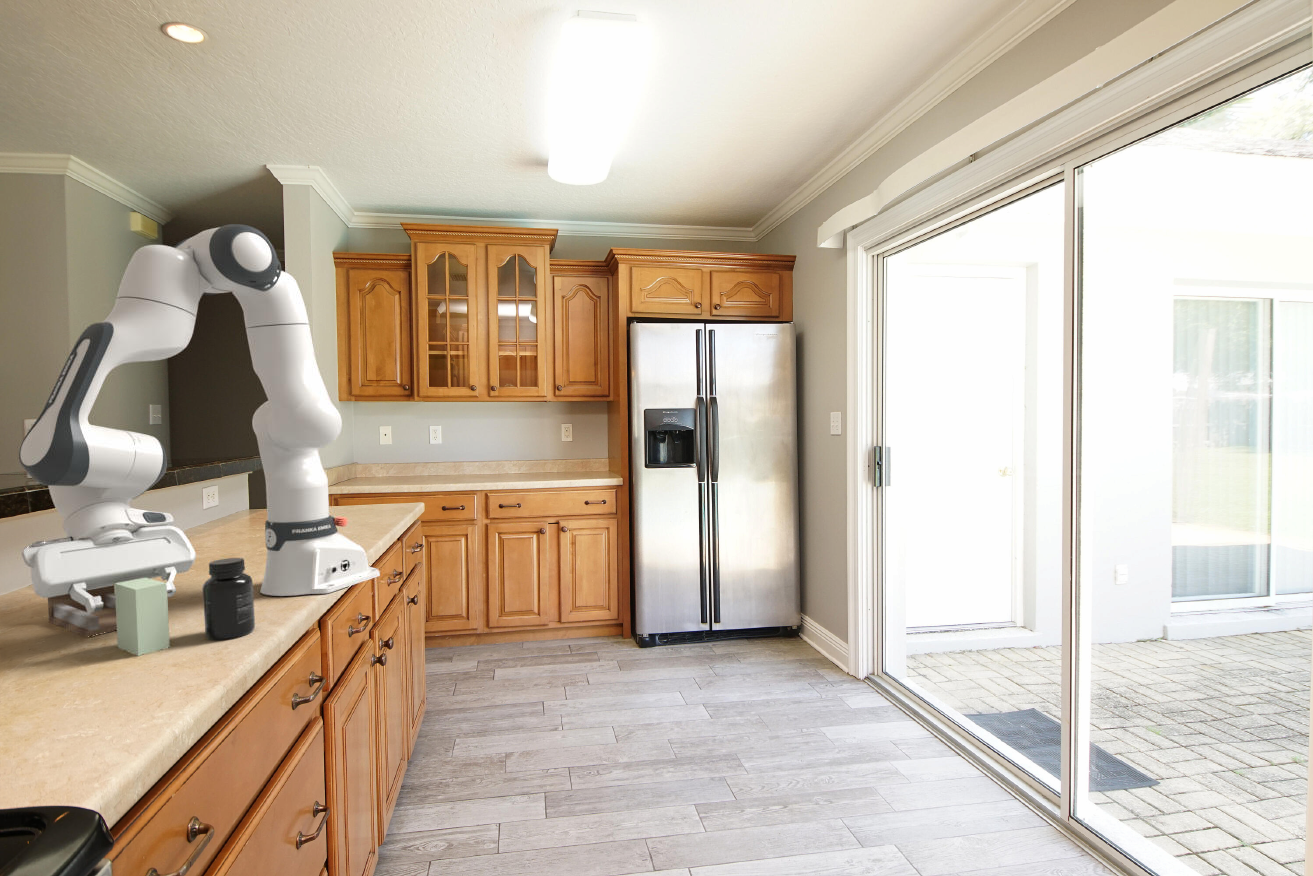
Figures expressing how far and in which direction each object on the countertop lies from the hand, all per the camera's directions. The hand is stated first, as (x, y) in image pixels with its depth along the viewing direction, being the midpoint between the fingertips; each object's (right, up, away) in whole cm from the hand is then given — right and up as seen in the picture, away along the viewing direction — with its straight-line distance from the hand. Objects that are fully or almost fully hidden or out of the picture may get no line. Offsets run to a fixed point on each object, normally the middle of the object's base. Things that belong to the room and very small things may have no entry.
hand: (134, 602), depth 101 cm
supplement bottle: (+11, -7, +6) cm, 14 cm away
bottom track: (-15, -6, +12) cm, 20 cm away
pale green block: (+2, -7, 0) cm, 7 cm away
